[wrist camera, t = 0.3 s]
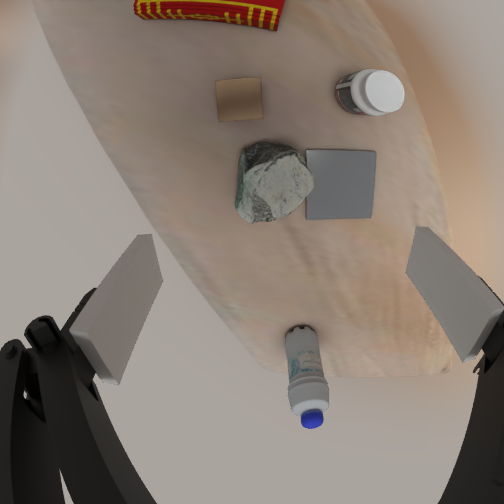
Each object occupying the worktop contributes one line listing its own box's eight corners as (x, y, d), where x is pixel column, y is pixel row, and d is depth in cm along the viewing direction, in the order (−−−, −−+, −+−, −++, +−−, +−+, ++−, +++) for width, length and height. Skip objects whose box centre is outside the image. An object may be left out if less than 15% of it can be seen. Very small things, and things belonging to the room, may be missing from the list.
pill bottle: (369, 118, 32) (404, 124, 23) (331, 108, 32) (356, 109, 23) (376, 81, 29) (411, 76, 20) (337, 69, 29) (364, 58, 20)
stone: (302, 183, 39) (336, 170, 30) (260, 235, 38) (285, 236, 29) (253, 139, 37) (275, 112, 28) (207, 190, 36) (215, 175, 27)
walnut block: (220, 84, 30) (215, 80, 26) (259, 81, 30) (260, 77, 26) (223, 120, 33) (218, 121, 29) (262, 117, 33) (263, 118, 28)
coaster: (305, 149, 34) (306, 150, 34) (374, 151, 34) (376, 152, 33) (305, 217, 39) (306, 219, 39) (369, 216, 39) (371, 218, 38)
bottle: (323, 326, 50) (343, 418, 33) (307, 348, 53) (319, 435, 36) (292, 318, 49) (304, 415, 32) (277, 341, 52) (282, 433, 35)
